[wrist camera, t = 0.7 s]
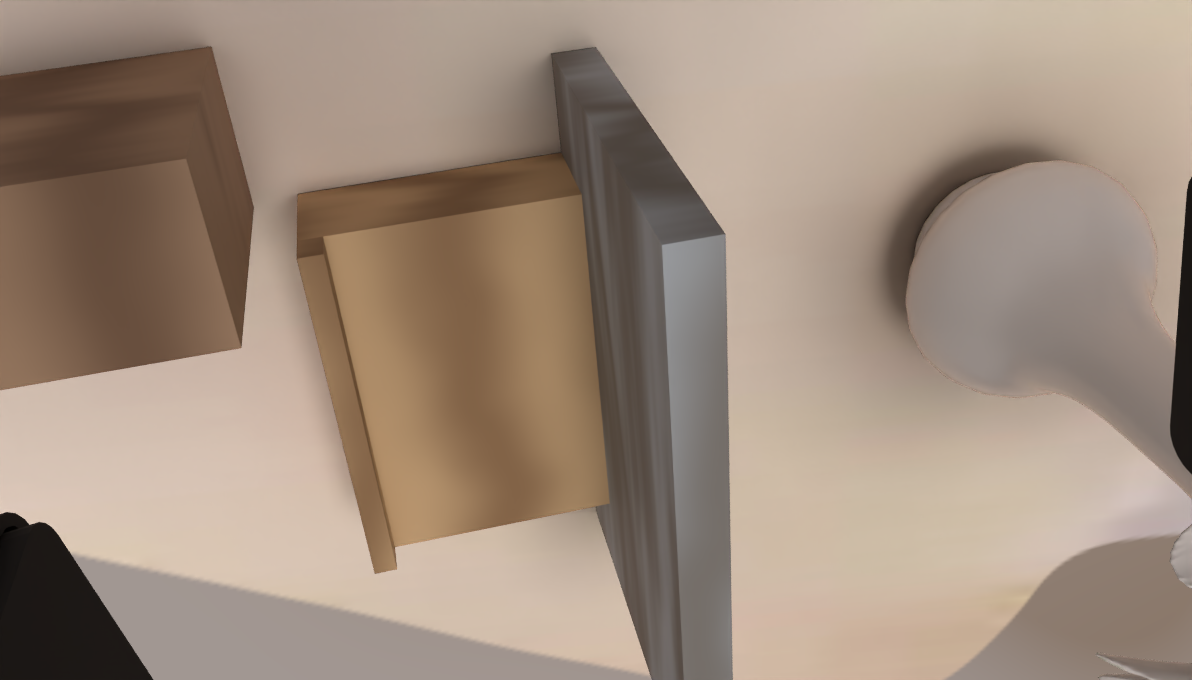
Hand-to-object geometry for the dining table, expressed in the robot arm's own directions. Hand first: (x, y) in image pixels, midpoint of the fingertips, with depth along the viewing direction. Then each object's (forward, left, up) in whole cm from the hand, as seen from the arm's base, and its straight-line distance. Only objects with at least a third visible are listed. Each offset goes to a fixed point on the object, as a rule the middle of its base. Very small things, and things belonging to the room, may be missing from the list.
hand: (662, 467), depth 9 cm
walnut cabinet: (-10, -7, -29) cm, 32 cm away
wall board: (0, -16, -29) cm, 33 cm away
